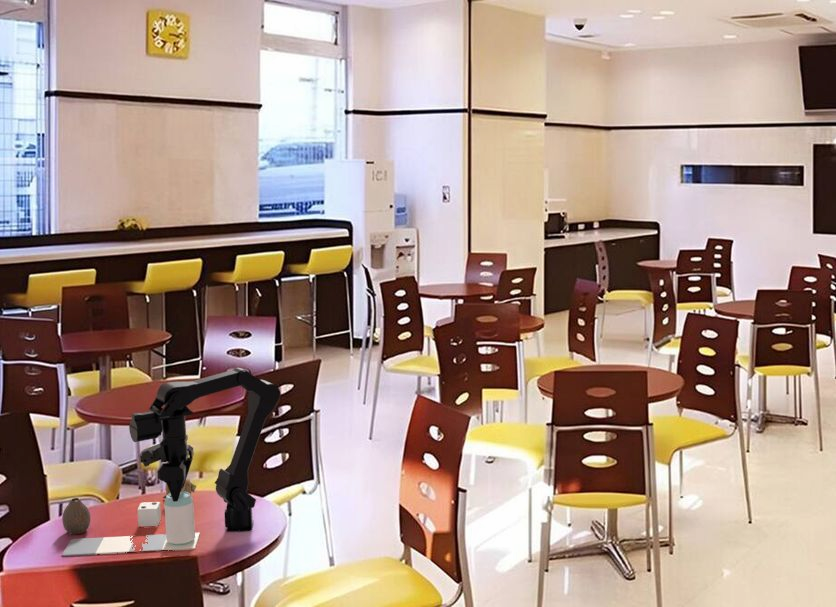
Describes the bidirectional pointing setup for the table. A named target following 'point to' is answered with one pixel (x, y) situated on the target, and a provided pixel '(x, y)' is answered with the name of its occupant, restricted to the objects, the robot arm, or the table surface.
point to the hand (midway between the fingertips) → (178, 494)
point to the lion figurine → (184, 488)
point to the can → (179, 519)
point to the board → (122, 545)
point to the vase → (76, 517)
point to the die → (149, 514)
